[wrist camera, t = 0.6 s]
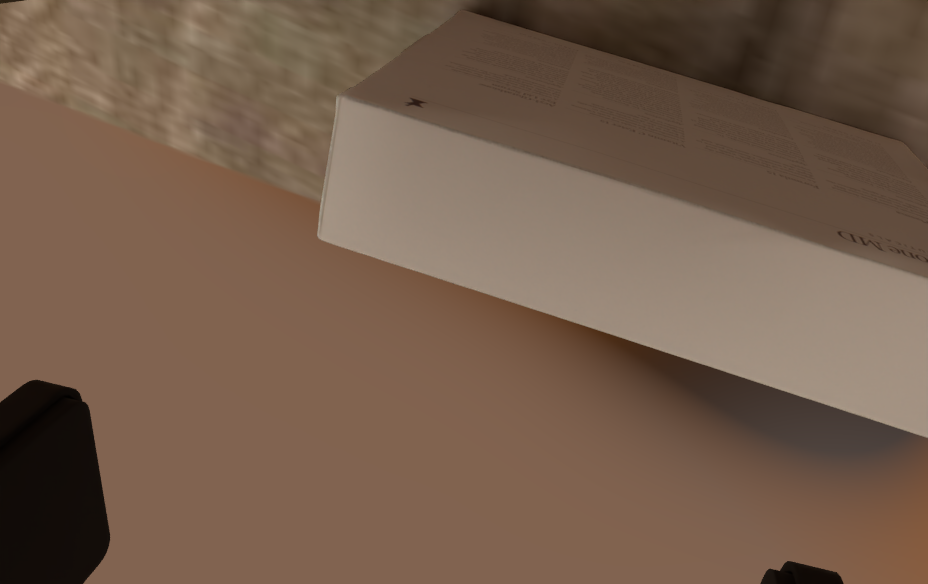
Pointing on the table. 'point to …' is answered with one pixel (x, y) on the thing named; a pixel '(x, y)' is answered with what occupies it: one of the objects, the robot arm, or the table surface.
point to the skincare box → (644, 210)
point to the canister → (6, 0)
